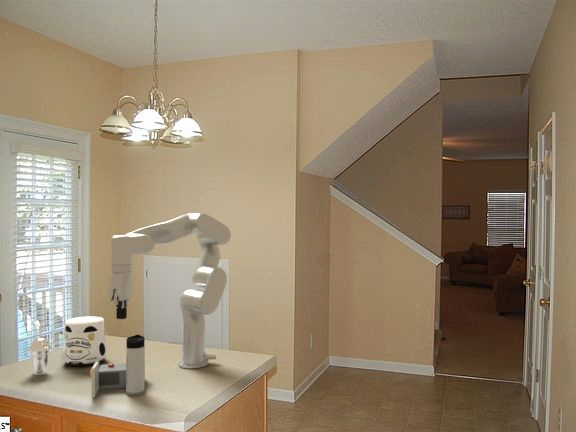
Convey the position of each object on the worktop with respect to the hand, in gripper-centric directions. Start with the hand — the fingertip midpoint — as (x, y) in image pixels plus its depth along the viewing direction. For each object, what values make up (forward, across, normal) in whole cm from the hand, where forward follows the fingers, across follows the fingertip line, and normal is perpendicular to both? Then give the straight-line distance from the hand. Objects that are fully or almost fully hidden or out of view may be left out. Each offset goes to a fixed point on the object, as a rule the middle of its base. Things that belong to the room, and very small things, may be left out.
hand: (121, 318), depth 185 cm
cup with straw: (+25, -9, -38) cm, 47 cm away
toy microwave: (+25, -2, -1) cm, 25 cm away
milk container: (+25, -25, -28) cm, 45 cm away
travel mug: (+25, +5, +8) cm, 27 cm away
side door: (+25, +9, -6) cm, 27 cm away
